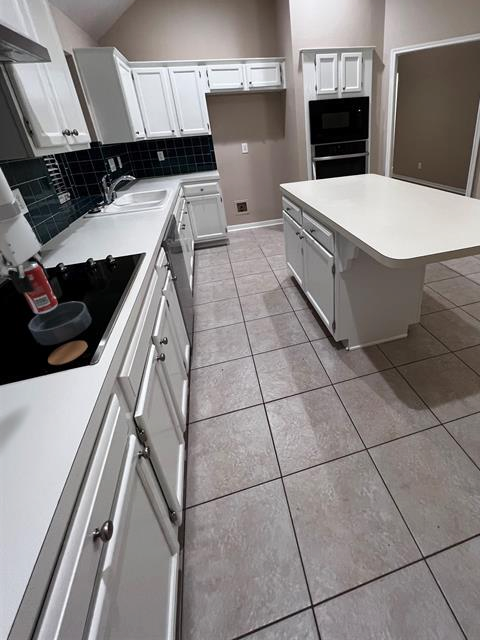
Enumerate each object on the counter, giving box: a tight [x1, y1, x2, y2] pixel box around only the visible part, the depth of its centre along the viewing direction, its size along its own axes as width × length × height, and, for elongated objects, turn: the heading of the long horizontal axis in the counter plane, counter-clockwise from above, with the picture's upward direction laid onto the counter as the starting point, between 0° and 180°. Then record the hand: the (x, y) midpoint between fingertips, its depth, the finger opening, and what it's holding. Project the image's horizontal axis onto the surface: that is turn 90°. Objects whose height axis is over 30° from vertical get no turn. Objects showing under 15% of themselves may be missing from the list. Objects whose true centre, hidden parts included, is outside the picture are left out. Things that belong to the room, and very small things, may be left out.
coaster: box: [47, 340, 88, 366], centre depth 84 cm, size 9×9×1 cm
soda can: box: [12, 262, 59, 315], centre depth 76 cm, size 5×5×12 cm
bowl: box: [27, 301, 93, 346], centre depth 92 cm, size 14×14×6 cm
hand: (34, 284), depth 75 cm, fingers closed on soda can, 5 cm apart
